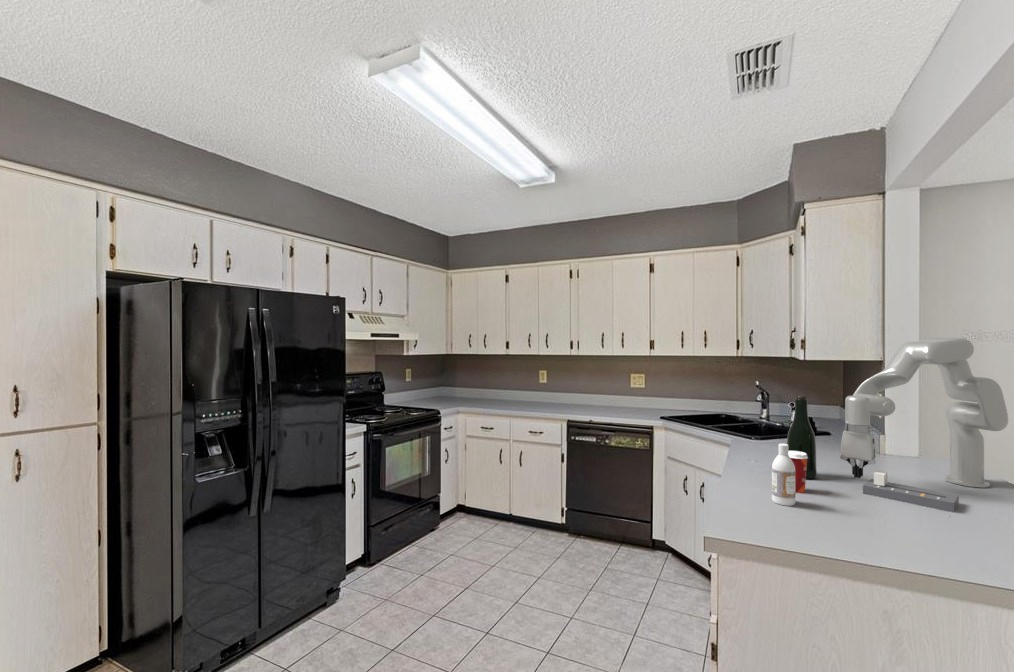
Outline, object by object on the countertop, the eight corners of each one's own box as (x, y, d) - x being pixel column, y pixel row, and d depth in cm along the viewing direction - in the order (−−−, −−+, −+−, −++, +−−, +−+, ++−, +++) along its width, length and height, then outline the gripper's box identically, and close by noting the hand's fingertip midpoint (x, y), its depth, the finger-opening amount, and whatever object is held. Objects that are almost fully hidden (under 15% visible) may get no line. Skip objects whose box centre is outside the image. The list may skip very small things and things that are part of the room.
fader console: (871, 486, 176) (871, 478, 176) (958, 504, 158) (958, 494, 158) (862, 493, 168) (862, 484, 168) (953, 512, 150) (953, 502, 150)
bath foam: (783, 507, 154) (783, 447, 155) (767, 500, 161) (767, 442, 161) (800, 505, 156) (800, 446, 156) (783, 498, 163) (783, 441, 163)
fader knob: (877, 481, 172) (877, 470, 172) (887, 483, 170) (887, 472, 170) (873, 484, 169) (873, 473, 169) (884, 486, 167) (884, 475, 167)
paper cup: (811, 494, 167) (811, 455, 167) (788, 493, 169) (788, 454, 169) (802, 487, 175) (802, 450, 175) (780, 486, 176) (780, 449, 176)
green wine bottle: (799, 471, 196) (799, 393, 197) (822, 478, 186) (822, 396, 187) (780, 473, 193) (780, 394, 193) (803, 481, 183) (803, 397, 183)
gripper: (884, 430, 171) (885, 480, 171) (837, 424, 183) (837, 471, 183) (880, 433, 167) (880, 484, 166) (831, 427, 178) (831, 474, 178)
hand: (857, 477), depth 175 cm, fingers closed
